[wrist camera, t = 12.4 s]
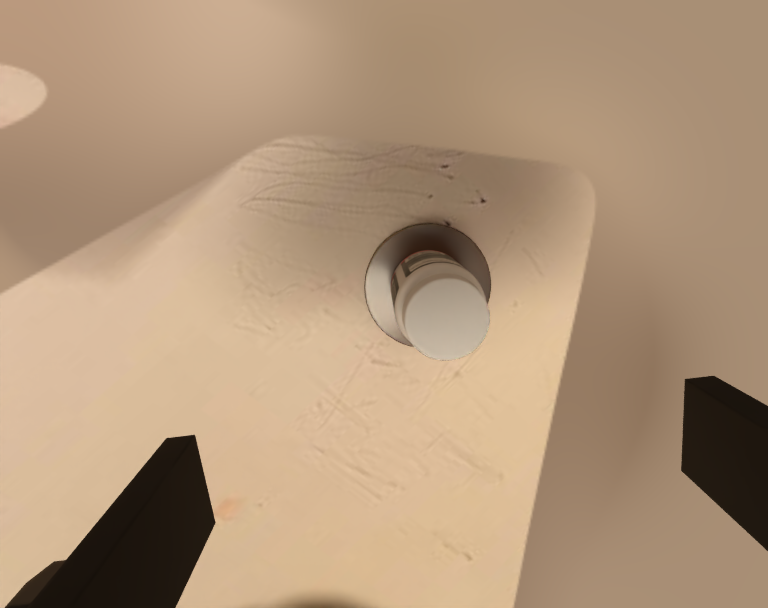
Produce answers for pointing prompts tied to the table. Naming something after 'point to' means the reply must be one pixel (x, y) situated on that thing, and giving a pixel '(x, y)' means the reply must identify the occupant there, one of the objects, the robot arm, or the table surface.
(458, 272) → the pill bottle
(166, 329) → the table surface
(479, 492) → the table surface
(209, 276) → the table surface
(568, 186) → the table surface
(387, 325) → the coaster
